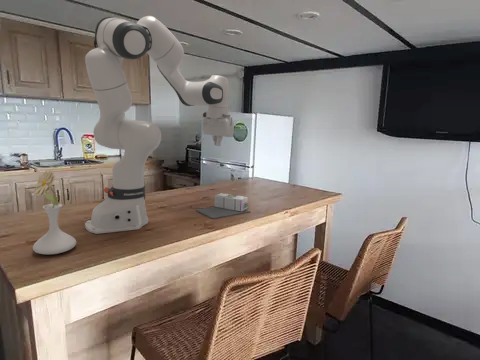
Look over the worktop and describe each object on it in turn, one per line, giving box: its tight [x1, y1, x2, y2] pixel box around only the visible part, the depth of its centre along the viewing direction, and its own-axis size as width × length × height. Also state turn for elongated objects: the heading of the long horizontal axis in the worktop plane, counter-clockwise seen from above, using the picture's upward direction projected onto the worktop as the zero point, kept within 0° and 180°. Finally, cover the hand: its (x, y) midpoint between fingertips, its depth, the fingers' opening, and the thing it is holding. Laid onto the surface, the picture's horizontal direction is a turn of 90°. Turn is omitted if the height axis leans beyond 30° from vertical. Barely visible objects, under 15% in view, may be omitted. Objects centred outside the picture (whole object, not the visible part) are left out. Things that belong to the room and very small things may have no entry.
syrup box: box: [214, 192, 249, 211], centre depth 146 cm, size 6×6×14 cm
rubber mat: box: [195, 206, 251, 220], centre depth 143 cm, size 20×14×1 cm
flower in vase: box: [32, 169, 77, 255], centre depth 93 cm, size 13×11×25 cm
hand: (217, 145), depth 142 cm, fingers closed
